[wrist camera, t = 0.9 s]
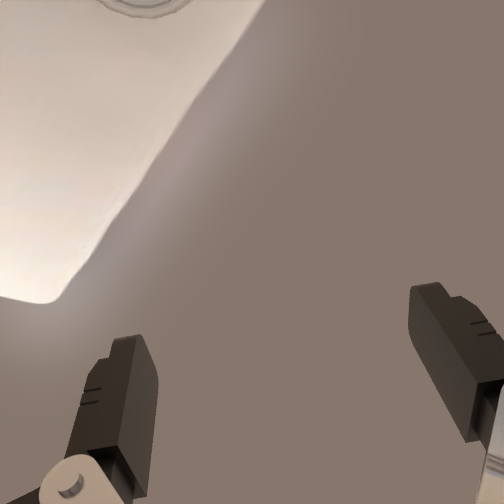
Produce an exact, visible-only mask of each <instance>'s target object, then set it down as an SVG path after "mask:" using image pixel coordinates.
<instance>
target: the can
mask: <svg viewBox="0 0 504 504" xmlns="http://www.w3.org/2000/svg"><path fill="white" fill-rule="evenodd" d="M98 1H99V2H100V3H102V4H103V5H104V6H106V7H107V8H109V9H110V10H113V11H116V12H119V13H121V14H124V15H127V16H130V17H132V18H154V19H155V18H159V17H162V16H165V15H169V14H172V13H176V12H177V11H179V10H180V9H181V8H183V7H184V6H186V5H187V4H188V3H190V2H191V1H192V0H98Z"/></svg>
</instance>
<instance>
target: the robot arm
mask: <svg viewBox="0 0 504 504" xmlns="http://www.w3.org/2000/svg"><path fill="white" fill-rule="evenodd" d="M409 300H410V301H409V317H408V329H409V334H410V338H411V341H412V343H413V345H414V347H415V349H416V351H417V353H418V355H419V357H420V358H421V360H422V362H423V364H424V366H425V368H426V370H427V372H428V373H429V375H430V377H431V379H432V381H433V383H434V385H435V386H436V388H437V390H438V392H439V394H440V396H441V397H442V399H443V401H444V403H445V405H446V407H447V409H448V410H449V412H450V414H451V416H452V418H453V420H454V422H455V423H456V425H457V427H458V429H459V431H460V433H461V435H462V437H463V438H464V440H465V442H466V443H467V442H473V441H478V440H480V441H481V443H482V444H483V446H484V448H485V450H486V454H485V458H484V463H483V468H482V472H481V477H480V482H479V486H478V491H477V495H476V500H475V504H504V340H503V339H502V338H501V336H500V335H499V334H497V333H496V330H495V329H494V327H493V326H492V325H491V324H490V323H488V320H487V319H486V317H485V316H484V315H483V314H482V312H481V311H480V310H479V308H478V307H477V306H476V305H474V304H473V303H471V302H469V301H468V300H466V299H465V298H463V297H462V296H457V297H452V298H451V297H450V296H449V294H448V293H447V291H446V290H445V289H444V287H443V286H442V285H441V284H440V283H439V282H434V283H428V284H422V285H417V286H412V287H411V289H410V299H409ZM157 397H158V376H157V371H156V368H155V365H154V363H153V360H152V358H151V356H150V353H149V351H148V349H147V346H146V344H145V341H144V339H143V337H142V336H141V335H140V334H138V335H133V336H127V337H122V338H116V339H114V341H113V344H112V347H111V351H110V356H109V358H105V359H99V360H98V362H97V363H96V364H95V366H94V367H93V369H92V370H91V371H90V373H89V374H88V377H87V380H86V384H85V387H84V394H82V398H81V401H80V407H79V408H78V412H77V416H76V419H75V423H74V426H73V430H72V433H71V437H70V441H69V444H68V447H67V451H66V455H65V457H64V460H62V461H61V462H60V463H58V464H57V465H56V466H55V467H53V468H52V469H51V471H50V472H49V473H48V474H47V475H46V477H45V479H44V480H43V482H42V485H41V486H40V487H39V488H37V489H35V490H34V491H32V492H30V493H28V494H26V495H24V496H22V497H20V498H17V499H15V500H13V501H11V502H9V503H7V504H133V499H136V498H142V497H146V496H147V488H148V479H149V470H150V461H151V451H152V443H153V433H154V424H155V415H156V405H157Z"/></svg>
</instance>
